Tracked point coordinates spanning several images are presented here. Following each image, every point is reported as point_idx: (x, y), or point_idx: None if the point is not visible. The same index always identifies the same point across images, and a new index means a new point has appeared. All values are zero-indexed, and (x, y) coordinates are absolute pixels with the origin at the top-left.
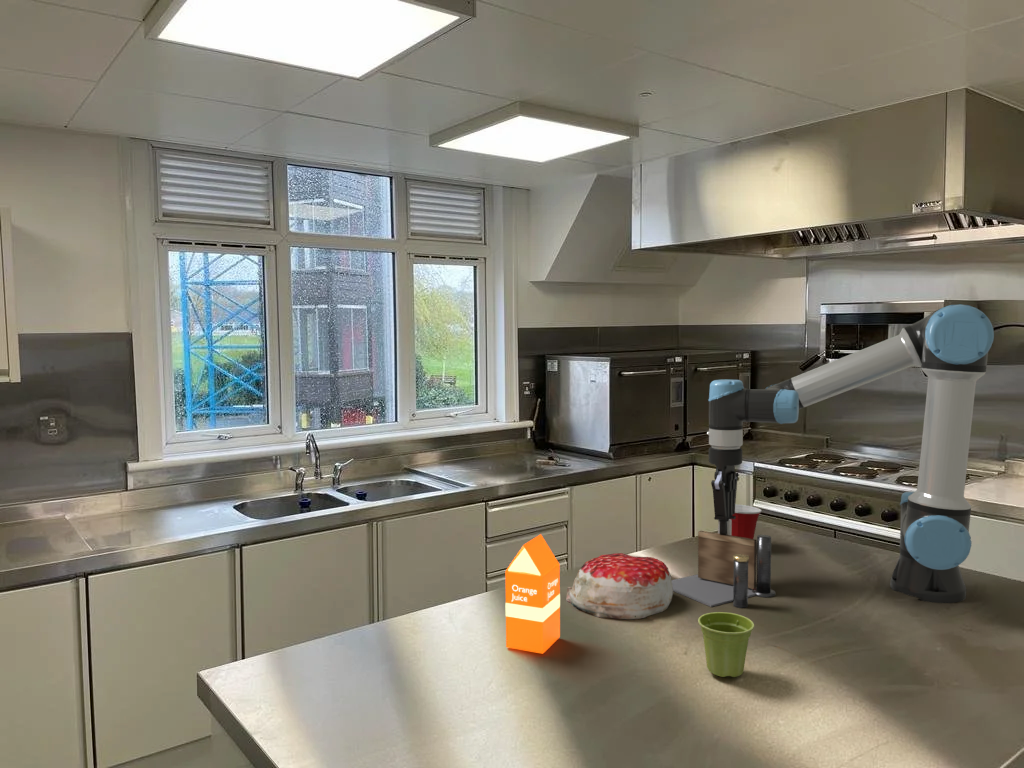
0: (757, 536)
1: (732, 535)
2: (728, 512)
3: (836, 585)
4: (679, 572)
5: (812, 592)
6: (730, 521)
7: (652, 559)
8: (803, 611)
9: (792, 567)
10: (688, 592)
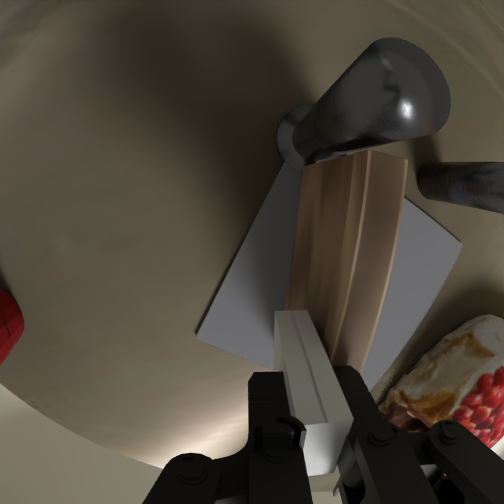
0: (433, 131)
1: (2, 345)
2: (401, 479)
3: (128, 11)
4: (244, 398)
5: (219, 29)
6: (332, 415)
7: (498, 405)
8: (385, 36)
9: (33, 154)
10: (405, 323)
